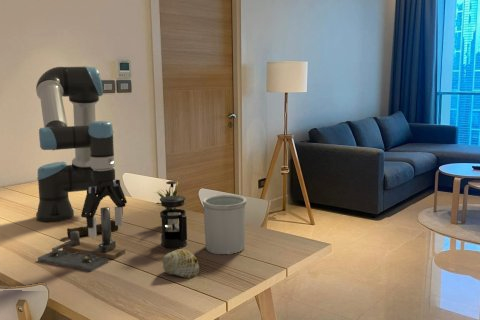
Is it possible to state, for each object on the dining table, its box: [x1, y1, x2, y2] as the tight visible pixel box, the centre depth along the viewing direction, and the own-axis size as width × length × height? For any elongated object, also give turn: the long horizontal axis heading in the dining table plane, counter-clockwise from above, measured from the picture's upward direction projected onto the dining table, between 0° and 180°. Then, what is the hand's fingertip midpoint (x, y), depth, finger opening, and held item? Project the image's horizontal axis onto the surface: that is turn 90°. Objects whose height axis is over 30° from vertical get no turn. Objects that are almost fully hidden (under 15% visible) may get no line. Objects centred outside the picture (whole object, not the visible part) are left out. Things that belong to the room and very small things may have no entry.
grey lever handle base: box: [51, 231, 126, 260], centre depth 163 cm, size 14×22×6 cm, turn 66°
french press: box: [159, 180, 188, 250], centre depth 171 cm, size 12×9×23 cm
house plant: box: [154, 185, 187, 224], centre depth 194 cm, size 14×14×16 cm
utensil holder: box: [202, 193, 247, 255], centre depth 168 cm, size 15×15×18 cm
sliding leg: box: [84, 206, 117, 260], centre depth 159 cm, size 13×3×14 cm, turn 156°
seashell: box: [162, 248, 200, 279], centre depth 147 cm, size 10×10×10 cm
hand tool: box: [66, 219, 119, 240], centre depth 185 cm, size 19×4×5 cm, turn 117°
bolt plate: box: [37, 249, 109, 272], centre depth 158 cm, size 8×22×1 cm, turn 66°
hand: (106, 231), depth 163 cm, fingers open, 13 cm apart
